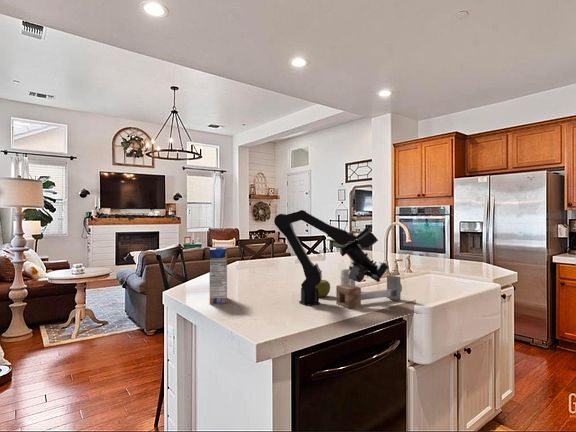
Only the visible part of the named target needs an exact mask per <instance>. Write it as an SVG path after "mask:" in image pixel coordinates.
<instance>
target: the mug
mask: <svg viewBox="0 0 576 432" xmlns="http://www.w3.org/2000/svg"><path fill="white" fill-rule="evenodd" d="M349 274H350V270H349V268H348V269H346V268H345V269H343V268H342V269H340V285H347V284H349V285H353V286H356V281H353V280H351V279H349Z"/></svg>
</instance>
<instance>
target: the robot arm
mask: <svg viewBox="0 0 576 432" xmlns="http://www.w3.org/2000/svg"><path fill="white" fill-rule="evenodd" d="M299 221H302V222H304V223H305V224H308V225H309V226H312V227H314V228H315V229H317V230H319V231H320V232H323V233H324V234H326V235H327V236H329V238H331V239H332V240H333V241H334V242H336V243H337V244H338V245H341V246H343V247H340V250H339V253H340V256H341V257H344V256H346V255H347V256H348V257H349V259H350V260H351V262H350V263H351V264H350V265H349V266H348V269H349V270H350V274H349V279H351V280H353V281H355V283H356V282H357V283H361V282H362V281H363V280H364V278H365V276H366V277H368V278H371V279H373V280H374V281H375V282H377V283H379V282H380V281H381V278H382V277H383V275H384V274H385V273H386V271H387V270H388V268H389V266H388V265H387V263H386V262H380V261H379V262H378V261H377V262H376V263H374V259H370V258H369V257H368V255H369V254H368V252H366V251H365V252H364V251H363V250H364V249H367V250H369V248H371V247H373V245H374V244H376V243H377V242H379V240H378V238H377V237H376V236H375V234H374V233H372V232H371V230H370V229H369V228H368V227H365V228H363V230H362V231H361V232H359V233H358V234H357V235H355V234H350V233H349V232H348V231H347V230H345V229H342V228H339V227H335V226H333V225H330V224H328V223H327V222H324V221H323V220H321V219H319V218H318V217H316V216H314V215H312V214H311V213H308V212H307V211H306V210H301V209H300V210H299V211H295V212H291V213H288V214H285V213H278V214H277V215H275V217H274V221H273V222H274V225H275V226H276V228H277V229H278V230H279V231H280V232H281V234H283V236H285V238H286V240H287V241H288V243H289V246H291V248H292V250H293V252H294V254H295V256H296V257H297V259H298V262H300V265H301V266H302V270H303V273H304V276H305V279H304V280H303V282H302V283H301V284H300V285H301V286H300V287H301V288H300V300H298V301H299V303H300V304H302V305H304V306H313V305H320V304H321V302H320V297H319V291H318V288H317V287H316V285H318V284H319V283H320V281H321V280H323V279H322V278H323V275H322V274H323V273H322V272H323V270H321V268H320V267H319V264H318V262H317V263H315V264H314V263H313V261H311V259H310V257H309V256H308V253H307V252H306V250H305V248H304V247H303V245H302V243H301V241H300V239H299V237H298V236H297V234H296V232H295V229H294V226H293V224H294V223H297V222H299ZM350 242H351V243H350ZM362 249H363V250H362Z"/></svg>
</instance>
